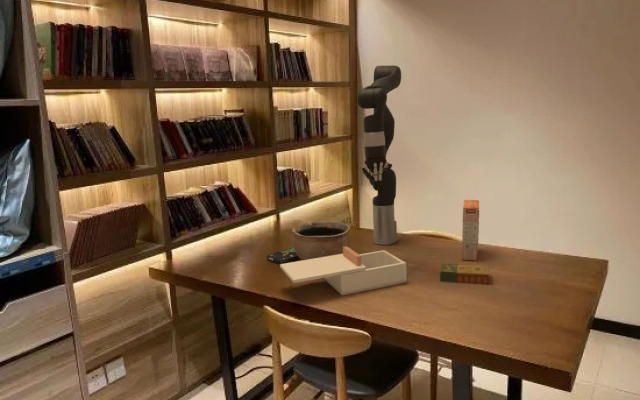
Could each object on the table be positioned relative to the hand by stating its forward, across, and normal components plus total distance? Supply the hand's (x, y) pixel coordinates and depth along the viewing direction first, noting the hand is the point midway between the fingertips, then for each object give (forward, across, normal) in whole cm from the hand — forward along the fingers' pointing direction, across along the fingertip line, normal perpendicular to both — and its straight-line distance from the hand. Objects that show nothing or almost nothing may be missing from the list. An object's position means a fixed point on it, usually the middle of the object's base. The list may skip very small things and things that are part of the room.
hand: (377, 190), depth 177 cm
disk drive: (+28, +31, -22) cm, 47 cm away
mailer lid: (+20, +29, +14) cm, 39 cm away
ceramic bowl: (+28, +21, -8) cm, 36 cm away
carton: (+29, -17, +29) cm, 45 cm away
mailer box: (+28, +14, +15) cm, 35 cm away
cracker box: (+30, -34, +10) cm, 46 cm away
